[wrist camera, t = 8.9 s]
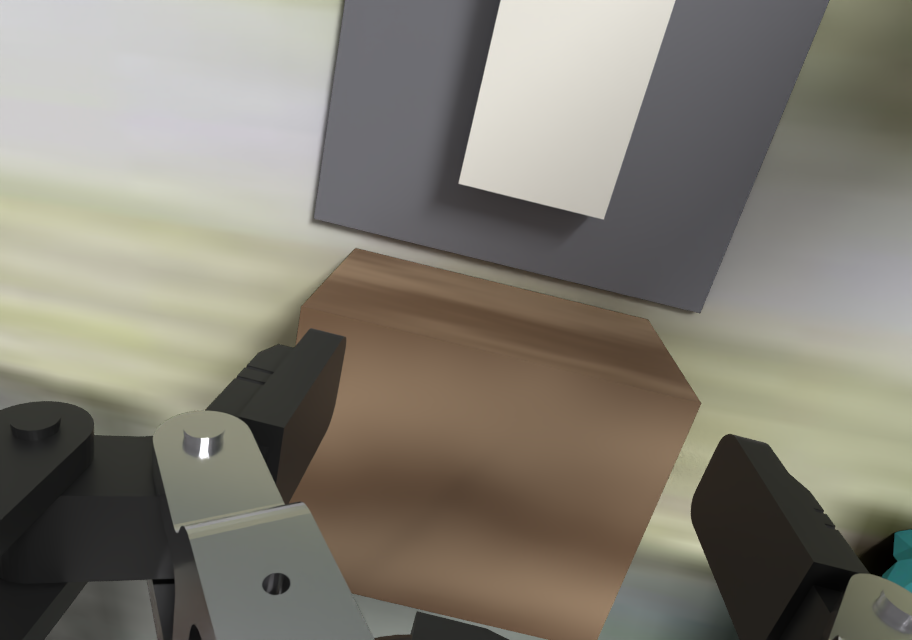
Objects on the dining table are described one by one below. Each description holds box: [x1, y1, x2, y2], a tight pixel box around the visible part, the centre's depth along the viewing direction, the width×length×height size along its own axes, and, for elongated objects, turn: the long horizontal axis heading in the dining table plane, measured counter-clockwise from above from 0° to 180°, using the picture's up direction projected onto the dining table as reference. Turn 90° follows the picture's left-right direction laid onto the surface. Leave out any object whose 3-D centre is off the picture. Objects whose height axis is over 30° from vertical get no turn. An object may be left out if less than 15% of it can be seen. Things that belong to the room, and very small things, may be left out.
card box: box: [458, 0, 676, 220], centre depth 23 cm, size 10×6×2 cm, turn 167°
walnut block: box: [289, 248, 701, 640], centre depth 26 cm, size 12×14×8 cm
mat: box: [314, 0, 829, 313], centre depth 25 cm, size 14×18×1 cm
